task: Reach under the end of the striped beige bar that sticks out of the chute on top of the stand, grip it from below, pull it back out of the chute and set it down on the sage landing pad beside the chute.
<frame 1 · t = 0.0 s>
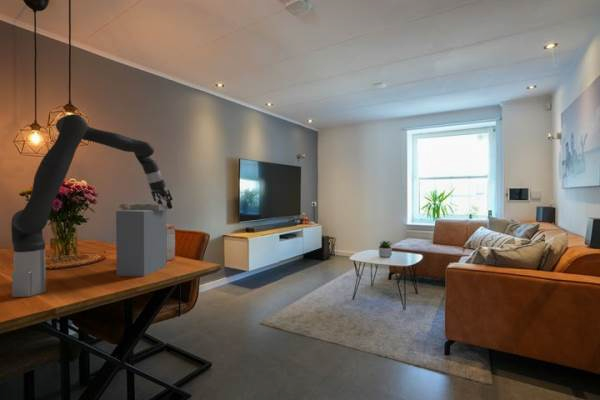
hand: (166, 208, 164), 32 cm above the table, tool tilted 20°, fingers open, 8 cm apart
striped beige bar: (140, 209, 158), point 31 cm above the table, touching chute stand
chute stand: (143, 270, 154), on the table
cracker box: (164, 259, 181), on the table
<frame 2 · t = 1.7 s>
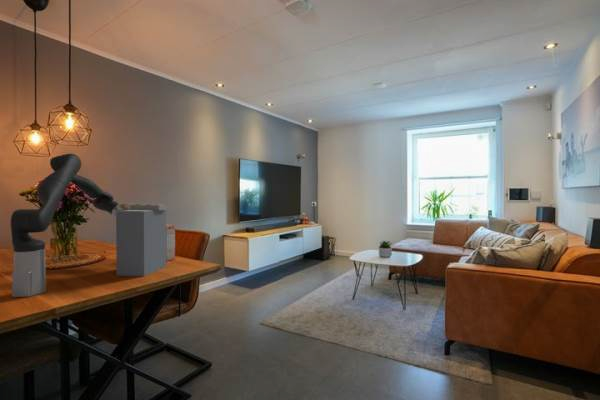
hand: (143, 228, 166), 20 cm above the table, tool tilted 65°, fingers open, 7 cm apart
nothing on the table moved.
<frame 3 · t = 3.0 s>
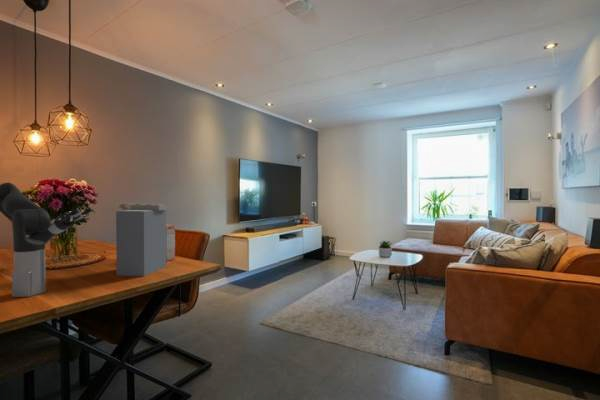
hand: (85, 209, 159), 31 cm above the table, tool pointing upward, fingers open, 8 cm apart
nothing on the table moved.
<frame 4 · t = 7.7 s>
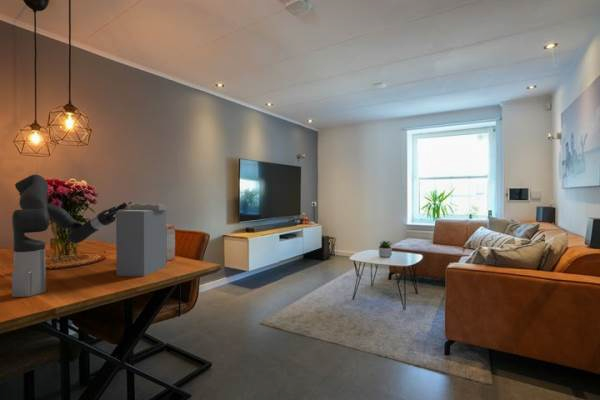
hand: (129, 203, 158), 34 cm above the table, tool pointing upward, fingers closed on striped beige bar, 4 cm apart
striped beige bar: (140, 209, 158), point 31 cm above the table, touching chute stand, gripper
everything else where it was.
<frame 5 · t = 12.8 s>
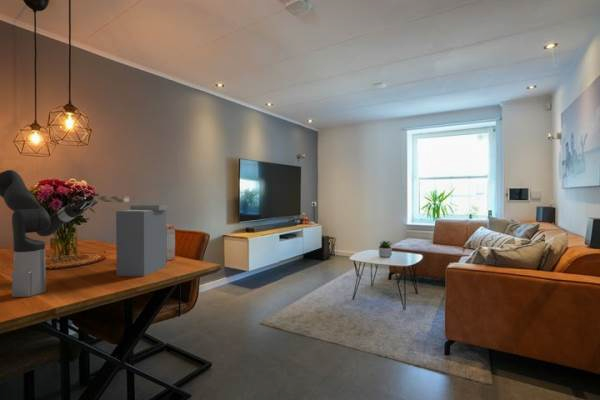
hand: (96, 196, 159), 38 cm above the table, tool pointing upward, fingers closed on striped beige bar, 4 cm apart
striped beige bar: (107, 201, 159), point 35 cm above the table, touching gripper
everything else where it was.
when the fingers open (35 cm above the table, at t = 18.0 s): striped beige bar drops 1 cm, resting on chute stand.
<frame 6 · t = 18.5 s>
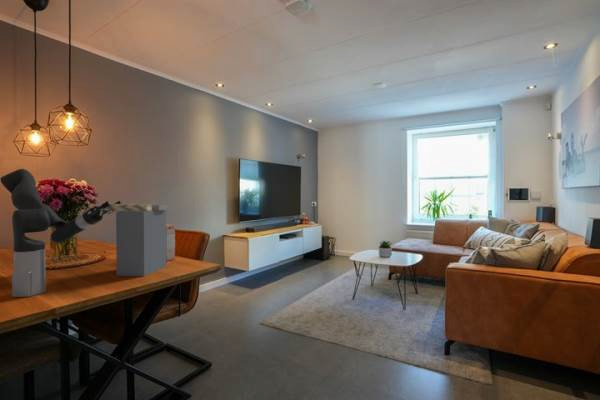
hand: (115, 202, 149), 35 cm above the table, tool pointing upward, fingers open, 8 cm apart
striped beige bar: (128, 210, 149), point 31 cm above the table, touching chute stand
everything else where it was.
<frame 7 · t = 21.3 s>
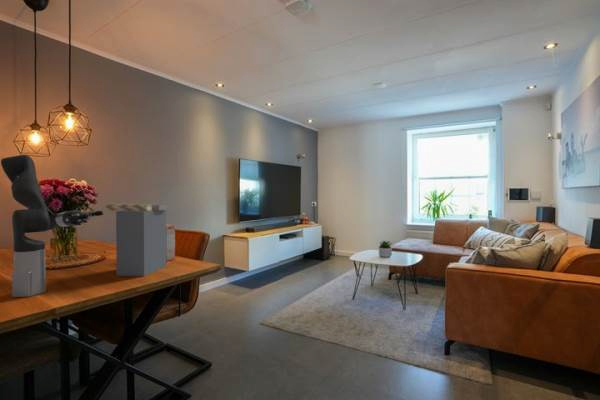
hand: (94, 214, 148), 29 cm above the table, tool horizontal, fingers open, 8 cm apart
nothing on the table moved.
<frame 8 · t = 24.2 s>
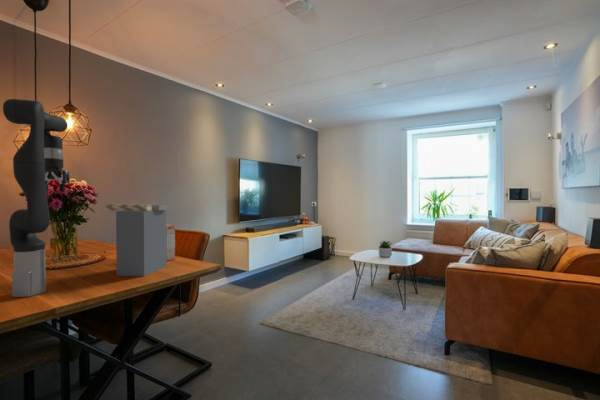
hand: (53, 191, 144), 40 cm above the table, tool pointing down, fingers open, 8 cm apart
nothing on the table moved.
at the end: striped beige bar inside the target area on the chute stand (0.2 cm from its centre), point 31.2 cm above the chute stand's base; striped beige bar tilted 0°; the gripper is holding nothing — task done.
